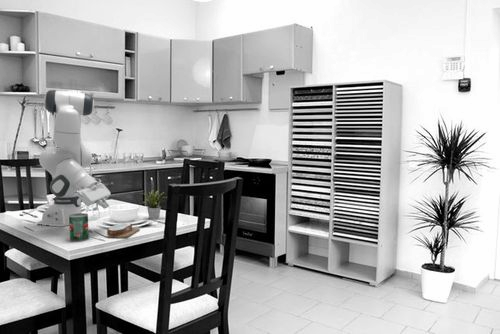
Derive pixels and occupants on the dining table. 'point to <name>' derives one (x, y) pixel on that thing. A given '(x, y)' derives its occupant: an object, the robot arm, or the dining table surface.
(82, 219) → the canned tomato
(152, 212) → the house plant
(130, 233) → the walnut board
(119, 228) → the brown rounded block
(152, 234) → the dining table surface
